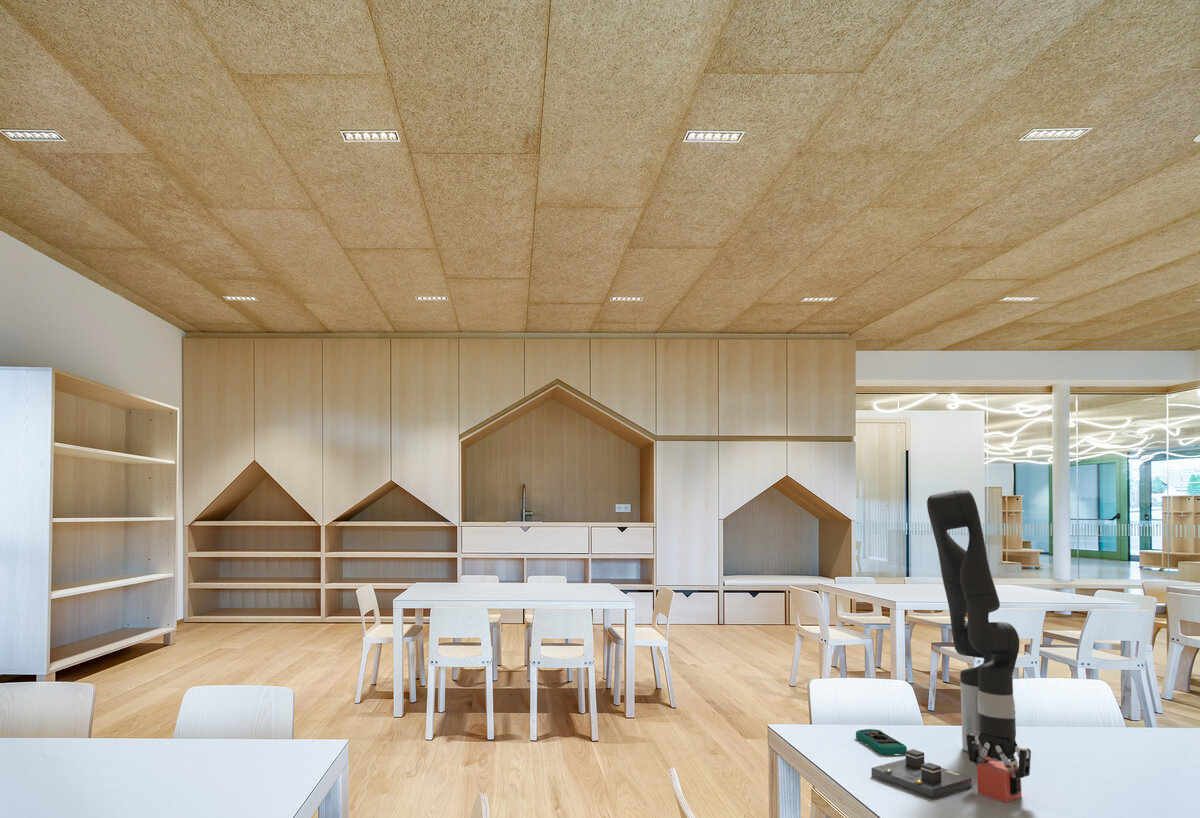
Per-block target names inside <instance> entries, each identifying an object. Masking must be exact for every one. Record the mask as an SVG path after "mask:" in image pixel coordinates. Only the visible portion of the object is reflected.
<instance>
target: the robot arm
mask: <svg viewBox="0 0 1200 818" xmlns="http://www.w3.org/2000/svg"><path fill="white" fill-rule="evenodd" d="M926 507H927V513H928V517H929V520H930V521H929V522H930V525H931V529H932V533H933V537H934V540H935V543H936V547H937V553H938V559H939V566H940V573H941V578H942V583H943V588H944V591H945V595H946V596H945V597H946V599H947V603H948V610H949V611H948V612H949V617H950V627H951V628H950V629H951V635H952V636H951V637H952V641H953V642H952V643H953V647H954V650H955V651H956V653H957V654H959V655H960V656H965V657H972V658H979V659H983V662H982V664H980V665H978V666H975V667H969V668H966V669H962V670H961V671H960V672H959V673H960V674H959V675H960V676H959V677H960V678H959V679H960V681H959V682H960V705H961V706H960V707H961V709H960V711H961V737H962V738H961V741H962V743H961V744H962V750H964V751H965V752H967V753H968V760H969V761H970V763H974V765H976V766H977V765H979V764H984V763H986V762H989V761H991V759H996V760H998V762H1002V763H1003V764H1004V766H1005V767H1006V768H1007V769H1008V771H1009V774H1010V776H1011V777H1010V793H1011V795H1014V796H1015V795H1018V793H1020V791H1021V792H1022V785H1021V786H1020V778H1021V779H1022V778H1026V777H1029V776H1030V773H1031V757H1032V756H1031V755H1032V750H1031V749H1030V748H1028V747H1026V748H1024V747H1021V746H1019V745H1018V744H1017V742H1016V735H1017V731H1016V730H1017V728H1016V726H1017V725H1016V724H1017V723H1016V703H1015V700H1014V699H1015V698H1014V686H1013V685H1014V683H1013V681H1014V680H1013V674H1014V671H1015V667H1016V663H1017V659H1018V654H1019V651H1020V635H1019V634H1018V631H1017V629H1016V628H1015V627H1014V626H1013V625H1012V624H1011V623H1009V622H1005V621H996V622H995V621H991V622H990V621H989V614H990V613H993V612H996V611H998V610H999V609H1000V606H1001V604H1000V602H1001V601H1000V599H999V596H998V593H997V589H996V587H995V582H994V580H993V576H992V572H991V569H990V566H989V565H990V564H989V560H988V555H987V553H988V552H987V548H986V543H985V542H986V541H985V538H984V533H983V528H982V523H981V518H980V513H979V509H978V506H977V503H976V500H975V498H974V495H973V494H972V493H971V491H970V490H969V489H966V488H961V489H956V490H950V491H945V492H939V493H934V494H931V495H929V496H928V498H927V500H926ZM960 528H967V530H968V545H967V549H966V550H965V548H963V547H962V546H960V545H959V544H958V543H957V542H956V541H955V539H953V538H952V536H951V535H950V534H949V533H948V530H949V531H950V530H955V529H960ZM966 615H967V620H966ZM1015 754H1016V755H1017V758H1018V760H1017V758H1016V755H1015ZM1020 787H1021V788H1020Z"/></svg>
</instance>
